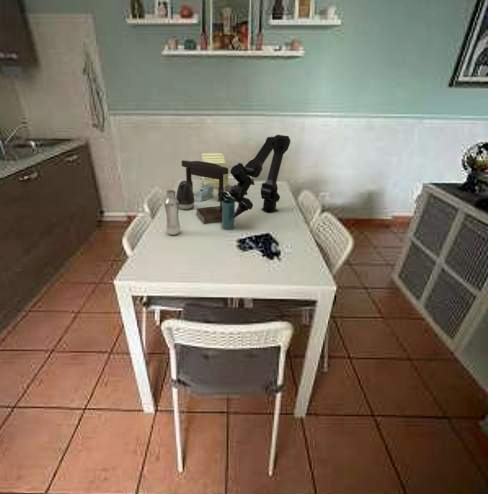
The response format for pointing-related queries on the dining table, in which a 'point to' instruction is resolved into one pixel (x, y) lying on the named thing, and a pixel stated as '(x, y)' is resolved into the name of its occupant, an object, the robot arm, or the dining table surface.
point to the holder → (209, 214)
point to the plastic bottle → (172, 213)
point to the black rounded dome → (185, 195)
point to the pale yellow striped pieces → (219, 160)
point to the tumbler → (228, 214)
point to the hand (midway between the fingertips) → (226, 214)
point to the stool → (205, 171)
